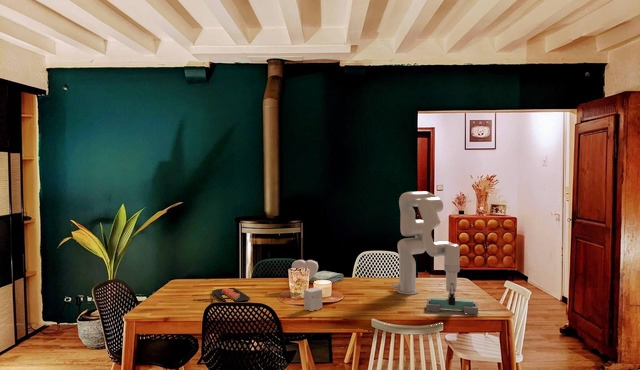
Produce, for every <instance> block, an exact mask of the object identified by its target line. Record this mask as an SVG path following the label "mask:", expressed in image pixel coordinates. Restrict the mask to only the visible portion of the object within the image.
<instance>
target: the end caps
mask: <svg viewBox="0 0 640 370" xmlns="http://www.w3.org/2000/svg"><path fill="white" fill-rule="evenodd" d="M425 307H426V308H425V309H426V310H425V311H426V312H427V311H432V312H431V313H440V304H430V299H426V306H425ZM463 313H467V314H466V315H469V314H478V315H479V306H478V303H477V302H473V307H472V306H464V310H463Z"/></svg>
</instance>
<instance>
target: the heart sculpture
mask: <svg viewBox="0 0 640 370" xmlns="http://www.w3.org/2000/svg"><path fill="white" fill-rule="evenodd" d="M301 267H304V268H308V269H310V279H311V278H312V277H313V276H314V275H315V274H316V272H319V271H318V270H319V264H318V261H315V260H313V259H308V260H304V259H298V260H295V261H293V262H292V264H291V269H292V268H301Z"/></svg>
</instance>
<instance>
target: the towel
mask: <svg viewBox="0 0 640 370" xmlns="http://www.w3.org/2000/svg"><path fill="white" fill-rule="evenodd" d="M344 278H345V276H344V274H343V273H337V272H333V271H329V270H328V271H327V270H322V271H317V272H316V274H315V275H314V276H313V277H312V278H311V279H310V282H309V283H312V284H314V283H313V282H314V281H316V280H330V281H331V282H332V283H331V284H333V283H337V282H342V280H344Z"/></svg>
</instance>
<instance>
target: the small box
mask: <svg viewBox="0 0 640 370" xmlns="http://www.w3.org/2000/svg"><path fill="white" fill-rule="evenodd" d="M303 302H304V303H303V306H304V307H303V308H305V309H307V310H310V311H312V310H315V309H320V308H322V309H323V289H321V288H319V287H311V288H307V290H304V291H303Z"/></svg>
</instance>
